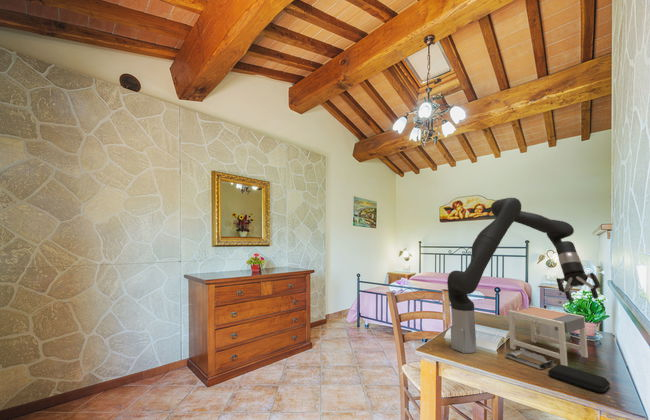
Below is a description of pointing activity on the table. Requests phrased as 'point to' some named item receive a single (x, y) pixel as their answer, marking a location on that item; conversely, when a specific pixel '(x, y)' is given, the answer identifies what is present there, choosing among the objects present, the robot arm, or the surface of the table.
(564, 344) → the trapdoor stand
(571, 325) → the trapdoor
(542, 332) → the plain beige rectangular block
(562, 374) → the carrying case or bag
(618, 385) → the table surface
